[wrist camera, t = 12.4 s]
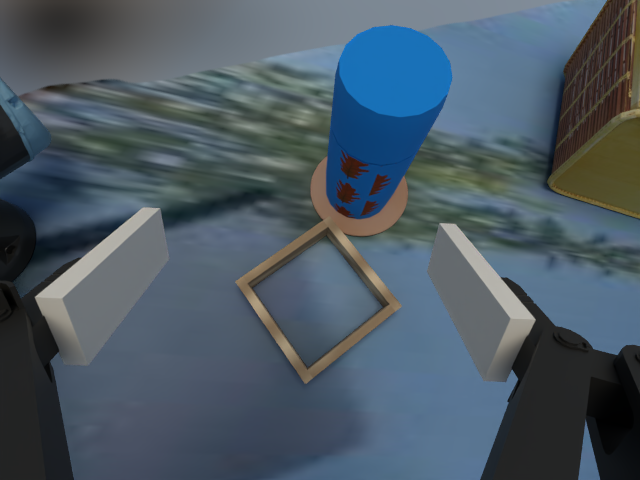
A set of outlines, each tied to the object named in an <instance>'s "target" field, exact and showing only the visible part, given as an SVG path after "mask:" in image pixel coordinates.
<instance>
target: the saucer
mask: <svg viewBox="0 0 640 480" xmlns="http://www.w3.org/2000/svg"><path fill="white" fill-rule="evenodd" d="M327 157H328V156H327ZM327 157H325V158H324V159H323V160H322V161H321V162H320V164H319V165H318V166H317V168H316V170H315V171H314V174H313V176H312V180H311V199H312V203H313V206H314V208H315V210H316V212H317V213H318V215H319V216H320V218H321V219H322V220H325V219H326V218H327V217H329V216H330V217H331V218H332V220H333V221H334V222H335V223H336V225H337V226H338V227H339V228H340V230H341V231H342V232H343V233H344V234H346V235H350V236H358V237H364V236H372V235H376V234H379V233H381V232H383V231H385V230H387V229H388V228H390V227H391V226H392V225H394V224H395V223H396V221H397V220H398V219H399V218H400V216H401V215H402V213H403V211H404V209H405V207H406V204H407V198H408V188H407V183H406V179H405V177H404V176H403V178H402V180H401V182H400V183H399V185H398V187H397V189H396V190H395V192H394V194H393V196H392V197H391V198H390V200H389V201H388V202H387V204H386V205H385V206H384V207H383V209H382V210H381V211H380V212H379V213H377V214H376V215H374V216H372V217H370V218H364V219H354V218H348V217H346V216H344V215H342V214H340V213H338V212H337V211H336V210H335V209H334V208H333V207H332V205H331V204H330V202H329V200H328V197H327V195H326V167H327Z"/></svg>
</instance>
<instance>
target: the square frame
mask: <svg viewBox="0 0 640 480" xmlns="http://www.w3.org/2000/svg"><path fill="white" fill-rule="evenodd" d="M326 235H327V236H328V238H329V239H330V240H331V241H332V243H333V244H334V245H335V246H336V248H337V249H338V250H339V252H340V253H341V254H342V255H343V257H344V258H345V259H346V260H347V262H348V263H349V264H350V265H351V267H352V268H353V269H354V271H355V272H356V273H357V274H358V276H359V277H360V278H361V279H362V281H363V282H364V283H365V285H366V286H367V287H368V288H369V290H370V291H371V292H372V293H373V295H374V296H375V297H376V298H377V300H378V301H379V302H380V304H381V305H382V306H383V308H382V309H381V310H379V311H378V312H377V313H376V314H374V315H373V316H372V317H371V318H369V319H368V320H367V321H366V322H364V323H363V324H362V325H361V326H359V327H358V328H357V329H356V330H354V331H353V332H352V333H351V334H349V335H348V336H347V337H346V338H344V339H343V340H342V341H340V342H339V343H338V344H337V345H335V346H334V347H333V348H332V349H330V350H329V351H328V352H327V353H325V354H324V355H323V356H322V357H320V358H319V359H318V360H317V361H315V362H314V363H313V364H312V365H310V366H309V367H308V368H307V366H306V365H305V363H304V362H303V361H302V359H301V358H300V356H299V355H298V353H297V352H296V350H295V349H294V348H293V346H292V345H291V343H290V342H289V340H288V339H287V337H286V336H285V335H284V333H283V332H282V330H281V329H280V327H279V326H278V324H277V323H276V322H275V320H274V319H273V317H272V316H271V314H270V313H269V311H268V310H267V309H266V307H265V306H264V304H263V303H262V301H261V300H260V298H259V297H258V296H257V294H256V293H255V291H254V290H253V287H254V286H255V285H257V284H258V283H260V282H261V281H263V280H264V279H265V278H267V277H268V276H270V275H271V274H272V273H274V272H275V271H277V270H278V269H279V268H281V267H282V266H284V265H285V264H287V263H288V262H289V261H291V260H292V259H294V258H295V257H296V256H298V255H299V254H301V253H302V252H303V251H305V250H306V249H308V248H309V247H311V246H312V245H313V244H315V243H316V242H318V241H319V240H320V239H322V238H323V237H325V236H326ZM235 282H236V283H237V285H238V286H239V288H240V289H241V291H242V292H243V294H244V295H245V297H246V298H247V299H248V301H249V302H250V304H251V305H252V307H253V308H254V310H255V311H256V313H257V314H258V316H259V317H260V318H261V320H262V321H263V323H264V324H265V326H266V327H267V329H268V330H269V332H270V333H271V335H272V336H273V338H274V339H275V340H276V342H277V343H278V345H279V346H280V348H281V349H282V351H283V352H284V354H285V355H286V357H287V358H288V360H289V361H290V362H291V364H292V365H293V367H294V368H295V370H296V371H297V373H298V374H299V376H300V377H301V379H302V380H303V381H304V383H305V384H306V383H308V382H309V381H310V380H311V379H313V378H314V377H315V376H316V375H317V374H319V373H320V372H321V371H322V370H324V369H325V368H326V367H327V366H329V365H330V364H331V363H332V362H334V361H335V360H336V359H337V358H338V357H340V356H341V355H342V354H343V353H345V352H346V351H347V350H348V349H350V348H351V347H352V346H353V345H355V344H356V343H357V342H358V341H359V340H361V339H362V338H363V337H364V336H366V335H367V334H368V333H369V332H371V331H372V330H373V329H374V328H376V327H377V326H378V325H379V324H380V323H382V322H383V321H384V320H385V319H387V318H388V317H389V316H390V315H392V314H393V313H394V312H395V311H397V310H398V309H399V308H400V307H401V304H400V303H399V302H398V301H397V299H396V298H395V297H394V296H393V294H392V293H391V292H390V291H389V289H388V288H387V287H386V286H385V284H384V283H383V282H382V281H381V279H380V278H379V277H378V276H377V274H376V273H375V272H374V271H373V269H372V268H371V267H370V266H369V264H368V263H367V262H366V261H365V260H364V258H363V257H362V256H361V255H360V253H359V252H358V251H357V250H356V248H355V247H354V246H353V245H352V243H351V242H350V241H349V240H348V238H347V237H346V236H345V235H344V233H343V232H342V231H341V230H340V228H339V227H338V226H337V225H336V223H335V222H334V221H333V220H332V218H331V217H330V216H329V217H327V218H326V219H325V220H323V221H322V222H320V223H319V224H317V225H316V226H314V227H313V228H312V229H310V230H309V231H307V232H306V233H304V234H303V235H301V236H300V237H299V238H297V239H296V240H294V241H293V242H291V243H290V244H289V245H287V246H286V247H284V248H283V249H281V250H280V251H278V252H277V253H276V254H274V255H273V256H271V257H270V258H268V259H267V260H266V261H264V262H263V263H261V264H260V265H258V266H257V267H255V268H254V269H253V270H251V271H250V272H248V273H247V274H245V275H244V276H242V277H241V278H240V279H238V280H237V281H235Z"/></svg>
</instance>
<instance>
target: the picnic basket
mask: <svg viewBox="0 0 640 480" xmlns="http://www.w3.org/2000/svg"><path fill="white" fill-rule="evenodd" d="M563 72H564V76H565V84H564V91H563V98H562V105H561V112H560V119H559V126H558V133H557V140H556V147H555V154H554V161H553V168H552V175H551V176H550V177H549V178H548V181H547V183H548V185H549V187H550V188H551V189H552V190H553V191H555V192H557V193H559V194H562V195H565V196H568V197H571V198H574V199H577V200H581V201H584V202H587V203H590V204H593V205H597V206H600V207H603V208H606V209H609V210H613V211H616V212H619V213H622V214H626V215H629V216H632V217H635V218H639V219H640V0H607V2H606V3H605V5H604V6H603V8H602V9H601V11H600V12H599V14H598V15H597V17H596V19H595V20H594V22H593V23H592V25H591V26H590V28H589V29H588V31H587V32H586V34H585V36H584V37H583V39H582V40H581V42H580V43H579V45H578V46H577V48H576V50H575V51H574V53H573V54H572V56H571V57H570V59H569V60H568V62H567V63H566V65H565V68H564V71H563Z"/></svg>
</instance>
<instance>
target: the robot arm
mask: <svg viewBox="0 0 640 480" xmlns="http://www.w3.org/2000/svg"><path fill="white" fill-rule="evenodd" d="M50 143H51V134H50V132H49V131H48V129H47V128H46V127H45V126H44V125H43V124H42V123H41V122H40V120H39V119H38V118H37V117H36V116H35V115H34V114H33V113H32V112H31V110H30V109H29V108H28V107H27V106H26V105H25V104H24V103H23V102H22V101H21V100H20V98H19V97H18V96H17V95H16V94H15V93H14V92H13V91H12V90H11V89H10V87H9V86H8V85H7V84H6V83H5V82H4V81H3V80H2V79H1V78H0V179H1V178H3V177H5V176H6V175H8V174H9V173H11V172H13V171H14V170H16V169H17V168H19V167H21V166H22V165H24V164H25V163H27V162H30V161H32V160H33V159H34V156H36V155H37V154H38V153H40V152H41V151H42V150H44V149H45V148H46V147H48V146H49V145H50ZM35 241H36V233H35V228H34V224H33V222H32V220H31V218H30V217H29V215H28V214H27V213H26V212H25V211H24V210H22V209H21V208H19V207H18V206H16V205H13V204H11V203H9V202H7V201H5V200H2V199H0V480H74V478H73V473H72V467H71V462H70V456H69V451H68V446H67V440H66V435H65V429H64V424H63V419H62V413H61V408H60V402H59V397H58V392H57V386H56V381H55V375H54V370H53V367H52V365H51V363H50V360H51V359H52V358H53V357H54V356H55V355H56V354H57V353H58V352H59V354H60V356H61V358H62V361H63V363H64V365H84V366H88V365H89V364H90V363H91V361H92V360H93V359H94V357H95V356H96V355H97V353H98V352H99V351H100V350H101V348H102V347H103V346H104V344H105V343H106V342H107V340H108V339H109V338H110V336H111V335H112V334H113V332H114V331H115V330H116V329H117V327H118V326H119V325H120V323H121V322H122V321H123V319H124V318H125V317H126V315H127V314H128V313H129V311H130V310H131V309H132V308H133V306H134V305H135V304H136V302H137V301H138V300H139V298H140V297H141V296H142V294H143V293H144V292H145V290H146V289H147V288H148V286H149V285H150V284H151V283H152V281H153V280H154V279H155V277H156V276H157V275H158V273H159V272H160V271H161V269H162V268H163V267H164V265H165V264H166V263H167V262H168V260H169V254H168V248H167V243H166V238H165V232H164V227H163V221H162V216H161V210H160V208H144V207H143V208H142V209H141V210H140V211H138V212H137V213H136V214H135V215H134V216H132V217H131V218H130V219H129V220H128V221H126V222H125V223H124V224H123V225H122V226H120V227H119V228H118V229H117V230H115V231H114V232H113V233H112V234H111V235H109V236H108V237H107V238H106V239H105V240H103V241H102V242H101V243H100V244H99V245H97V246H96V247H95V248H94V249H92V250H91V251H90V252H89V253H88V254H86V255H85V256H84V257H83V258H77V259H75V260H73V261H71V262H68V263H66V264H64V265H63V266H62V267H60V268H59V269H58V270H56V271H55V272H54V273H53V275H50V276H49V277H48V278H46V279H45V281H44V282H41V283H40V284H39V285H38V286H36V287H35V288H34V289H33V290H31V291H30V292H29V293H27V294H26V295H25V296H24V297H22V298H20V296H19V294H18V292H17V290H16V287H15V286H14V284H13V283H12V281H13V280H14V279H15V278H16V277H17V276H18V275H19V274H20V273H21V272H22V271H23V269H24V268H25V267H26V265H27V263H28V262H29V260H30V258H31V256H32V253H33V250H34V247H35ZM427 272H428V274H429V276H430V278H431V280H432V282H433V284H434V286H435V288H436V290H437V292H438V294H439V296H440V297H441V299H442V301H443V303H444V305H445V307H446V309H447V311H448V313H449V315H450V317H451V319H452V321H453V323H454V325H455V327H456V328H457V330H458V332H459V334H460V336H461V338H462V340H463V342H464V344H465V346H466V348H467V350H468V352H469V354H470V356H471V357H472V359H473V361H474V363H475V365H476V367H477V369H478V371H479V373H480V375H481V377H482V379H483V381H497V382H506V380H507V378H508V376H509V374H510V372H511V370H513V371H514V373H515V374H516V376H517V378H518V381H517V383H516V385H515V387H514V389H513V391H512V393H511V395H510V397H509V399H508V401H507V402H509V403H508V406H507V409H506V412H505V414H504V417H503V420H502V422H501V425H500V428H499V430H498V433H497V436H496V439H495V441H494V444H493V447H492V449H491V452H490V455H489V457H488V460H487V463H486V466H485V468H484V471H483V474H482V476H481V479H480V480H578V476H579V468H580V460H581V452H582V444H583V436H584V427H585V419H586V422H587V426H588V430H589V434H590V438H591V443H592V447H593V451H594V455H595V459H596V463H597V467H598V472H599V476H600V480H640V346H636V345H626V346H625V347H623V348H622V349H621V351H620V352H619V354H618V355H614V354H610V353H606V352H602V351H598V350H594V349H593V348H592V346H591V345H590V344H589V342H588V341H587V340H586V339H584V338H583V337H582V336H580V335H579V334H577V333H575V332H573V331H571V330H568V329H565V328H562V327H557V326H555V325H554V324H553V323H552V322H551V321H550V319H549V318H548V317H547V316H546V315H545V314H544V313H543V312H542V311H541V309H540V308H539V307H538V306H537V305H536V304H534V303H533V300H532V299H531V298H530V297H529V296H527V294H526V293H525V292H524V290H523V289H522V288H521V287H520V286H519V285H517V284H516V283H514V282H513V281H511V280H510V279H508V278H502V277H499V275H498V274H497V273H496V272H495V271H494V269H493V268H492V267H491V266H490V265H489V264H488V262H487V261H486V260H485V259H484V258H483V256H482V255H481V254H480V253H479V252H478V250H477V249H476V248H475V247H474V246H473V245H472V243H471V242H470V241H469V240H468V239H467V237H466V236H465V235H464V234H463V233H462V231H461V230H460V229H459V228H458V227H457V226H456V224H444V223H439V227H438V231H437V235H436V239H435V243H434V247H433V250H432V254H431V258H430V262H429V266H428V270H427Z"/></svg>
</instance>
